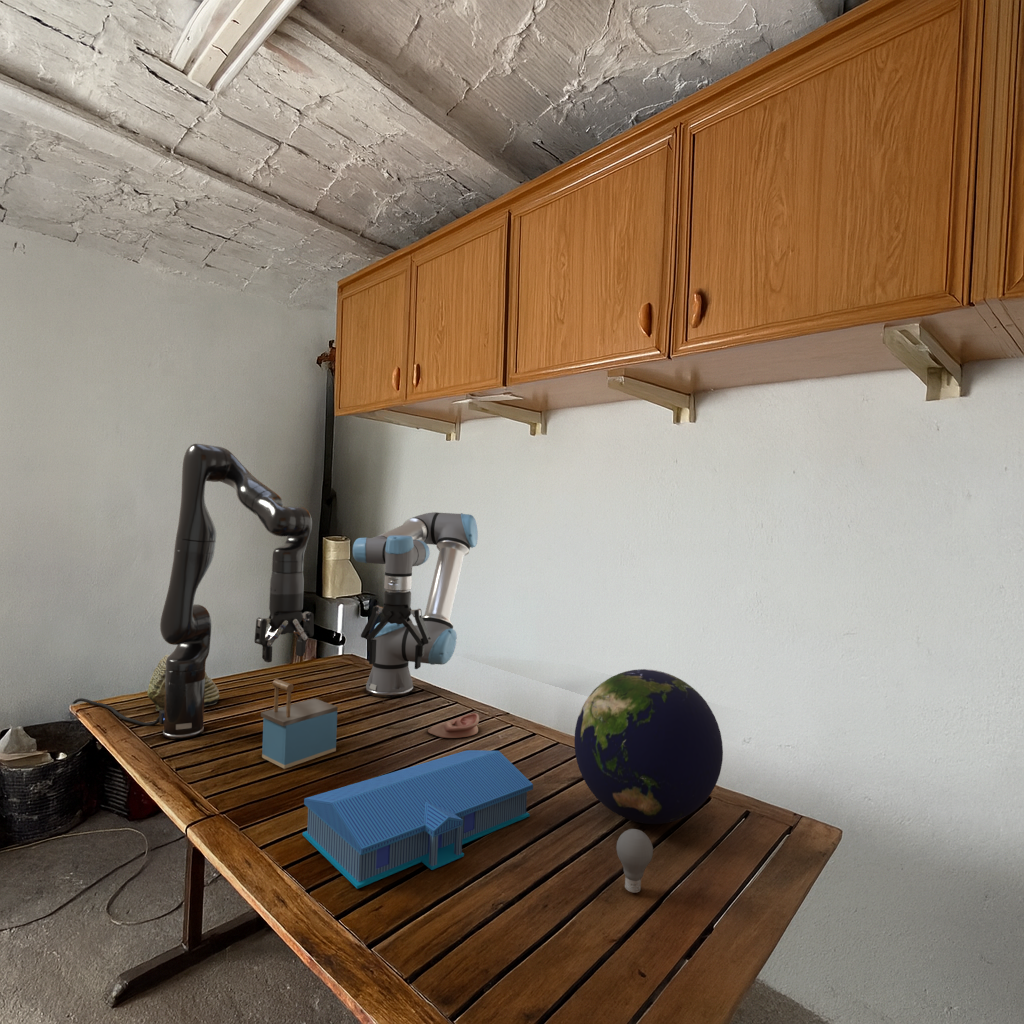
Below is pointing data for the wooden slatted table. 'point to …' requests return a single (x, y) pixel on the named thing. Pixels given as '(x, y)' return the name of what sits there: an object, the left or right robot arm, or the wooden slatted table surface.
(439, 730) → the anatomical model
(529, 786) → the model building
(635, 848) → the light bulb
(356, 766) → the wooden slatted table surface
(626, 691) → the globe
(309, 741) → the chest
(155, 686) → the fossil
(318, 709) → the lid
